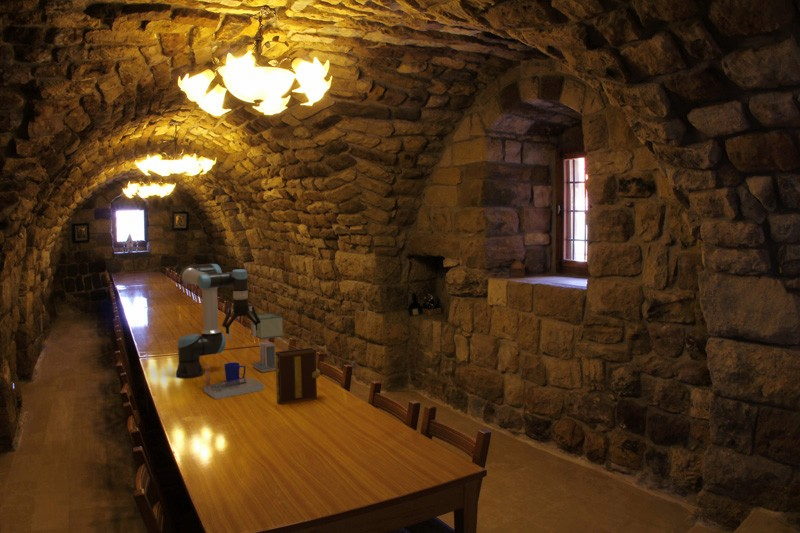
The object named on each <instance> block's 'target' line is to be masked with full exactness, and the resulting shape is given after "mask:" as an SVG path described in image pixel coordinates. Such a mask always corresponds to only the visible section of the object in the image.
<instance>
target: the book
mask: <svg viewBox="0 0 800 533" xmlns="http://www.w3.org/2000/svg"><path fill="white" fill-rule="evenodd" d="M316 352H317V350H316V349H315V348H313V347H305V348H297V349H289V350H281V351H280V350H279V351H275V361H276V370H275V380H276V384H275V385H276V390H275V391H276V403H277V404H278V405H288V404H294V403H295V404H296V403H301V402H307V401H312V400H313V401H314V400H317V399H318V390H317V388H318V385H317V383H318V382H317V379H318V378H319V377H321V371H320V369H318V368H317V355H316Z"/></svg>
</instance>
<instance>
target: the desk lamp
mask: <svg viewBox="0 0 800 533" xmlns="http://www.w3.org/2000/svg"><path fill="white" fill-rule="evenodd" d="M256 314H257V316H258V318H259V320H260V323H258V325H257V330H256V337H255V338H257V339H260V340H265V341H261V342H259V343H258V344H259V362H256V363H255V362H254V363H251V365H252V366H254V369H256V370H258V371H259V372H261V373H267V372H273V371H275V372H276V358H275V352H276V344H275V343H274V342H272V341H271V342H270V340H269V339H274V338H283V337H284V334H283V333H284V332H283V330H284V329H283V326H284V325H283V316H282V315H280V314H278V313H274V312H266V313H256ZM250 316H251V317H252V318H253V319H254V320H255V321H256V319H255V318H254V316H253V314H250ZM252 324H254V323H253V322H252V321H251V320H250V334H251V335H252V336H253V328H252Z"/></svg>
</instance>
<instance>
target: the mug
mask: <svg viewBox="0 0 800 533" xmlns="http://www.w3.org/2000/svg"><path fill="white" fill-rule="evenodd" d="M240 368H243V376H242V377H240ZM246 369H247V368H246V366H245V365H240V362H236V361H235V362H227V363H225V364H224V374H225V382H227V381H232V380H238V379H243V378H246V377H245V376H246Z"/></svg>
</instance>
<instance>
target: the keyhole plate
mask: <svg viewBox="0 0 800 533" xmlns="http://www.w3.org/2000/svg"><path fill="white" fill-rule="evenodd" d="M203 387H204V389H203V392H204V393H205V394H206V395H208V396H210V398H213V399H215V400H218V399H219V400H220V399H224V398H230V397H235V396H239V395H245V394H249V393H254V392H261V391H264V390H265V389H264V383H263V382H261V381H259V380H257V379H255V378H252V377H250V376H249V377H244V378H243V379H238V380H232V381H222V382H217V383H210V385H206V384H205V385H203Z"/></svg>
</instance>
